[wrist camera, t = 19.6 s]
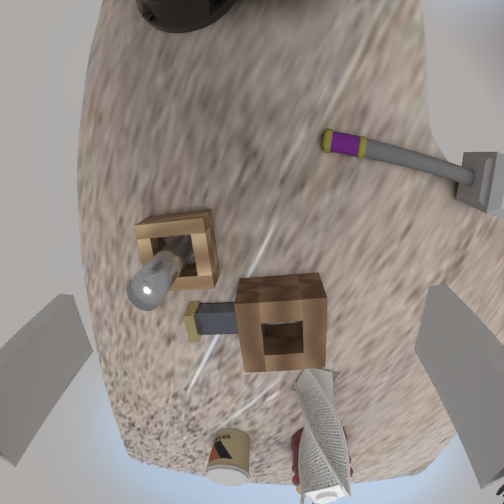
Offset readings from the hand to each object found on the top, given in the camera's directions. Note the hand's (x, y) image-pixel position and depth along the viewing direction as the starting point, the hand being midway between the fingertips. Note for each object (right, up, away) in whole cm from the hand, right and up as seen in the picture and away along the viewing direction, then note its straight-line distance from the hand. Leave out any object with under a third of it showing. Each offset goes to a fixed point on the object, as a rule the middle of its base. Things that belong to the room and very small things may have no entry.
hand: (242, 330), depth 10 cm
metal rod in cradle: (-10, +4, +35) cm, 37 cm away
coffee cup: (-4, -40, +51) cm, 65 cm away
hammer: (+25, +16, +29) cm, 41 cm away
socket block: (+5, -7, +38) cm, 39 cm away
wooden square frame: (-10, +4, +35) cm, 37 cm away
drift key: (-4, -7, +39) cm, 39 cm away
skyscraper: (+12, -21, +43) cm, 49 cm away
